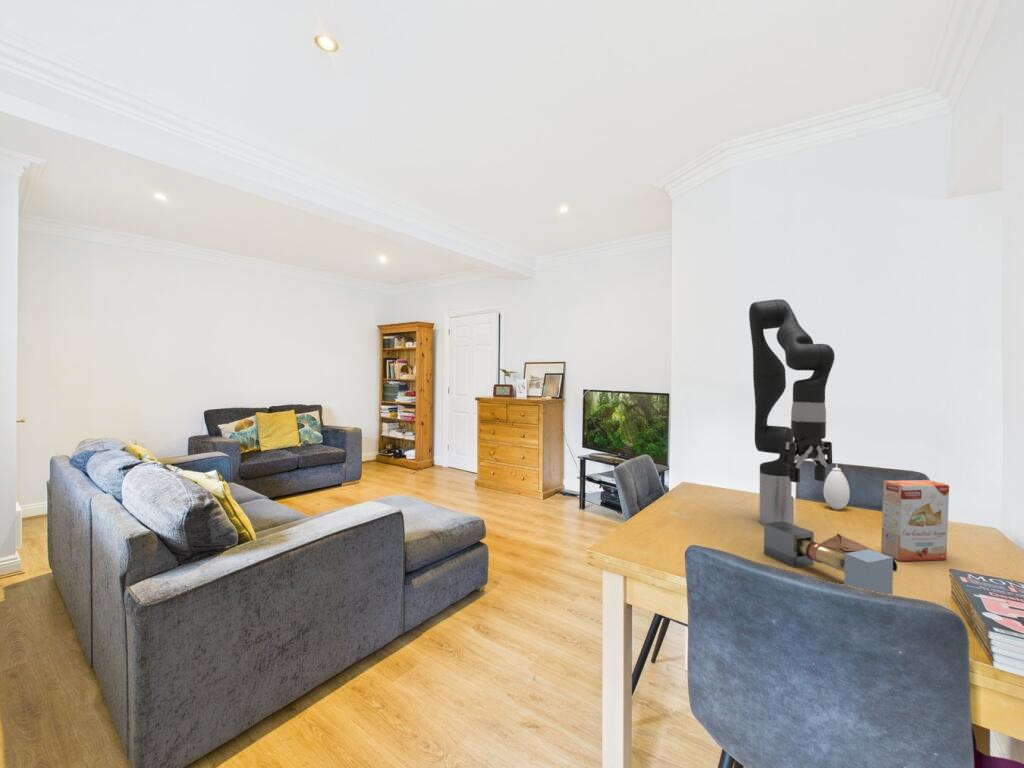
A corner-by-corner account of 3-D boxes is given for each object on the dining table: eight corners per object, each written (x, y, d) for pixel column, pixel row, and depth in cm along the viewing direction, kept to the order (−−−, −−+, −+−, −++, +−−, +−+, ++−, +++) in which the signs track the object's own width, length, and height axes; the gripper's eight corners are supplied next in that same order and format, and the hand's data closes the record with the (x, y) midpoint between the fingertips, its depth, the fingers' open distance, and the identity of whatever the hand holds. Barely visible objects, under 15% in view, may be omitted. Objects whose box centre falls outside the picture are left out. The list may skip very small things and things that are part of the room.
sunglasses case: (811, 544, 127) (822, 525, 127) (830, 555, 127) (841, 536, 127) (868, 572, 109) (880, 549, 109) (889, 585, 109) (901, 562, 110)
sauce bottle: (821, 508, 160) (821, 461, 160) (826, 504, 166) (826, 458, 165) (847, 513, 155) (847, 464, 154) (851, 509, 160) (851, 461, 160)
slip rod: (781, 542, 122) (781, 526, 121) (852, 571, 103) (852, 552, 103) (768, 544, 120) (769, 528, 120) (838, 574, 102) (838, 555, 102)
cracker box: (901, 562, 114) (902, 485, 114) (880, 553, 120) (881, 479, 120) (949, 560, 115) (950, 484, 115) (926, 551, 121) (927, 478, 121)
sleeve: (782, 550, 122) (783, 521, 122) (813, 563, 114) (813, 531, 114) (764, 553, 120) (764, 523, 120) (793, 567, 112) (794, 535, 112)
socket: (868, 586, 102) (868, 549, 101) (892, 596, 97) (893, 557, 97) (844, 591, 99) (844, 553, 99) (867, 602, 94) (868, 562, 94)
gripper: (815, 418, 118) (813, 477, 117) (774, 418, 114) (773, 479, 113) (842, 420, 110) (841, 483, 110) (800, 420, 106) (799, 485, 106)
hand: (807, 481), depth 112 cm, fingers open, 8 cm apart
